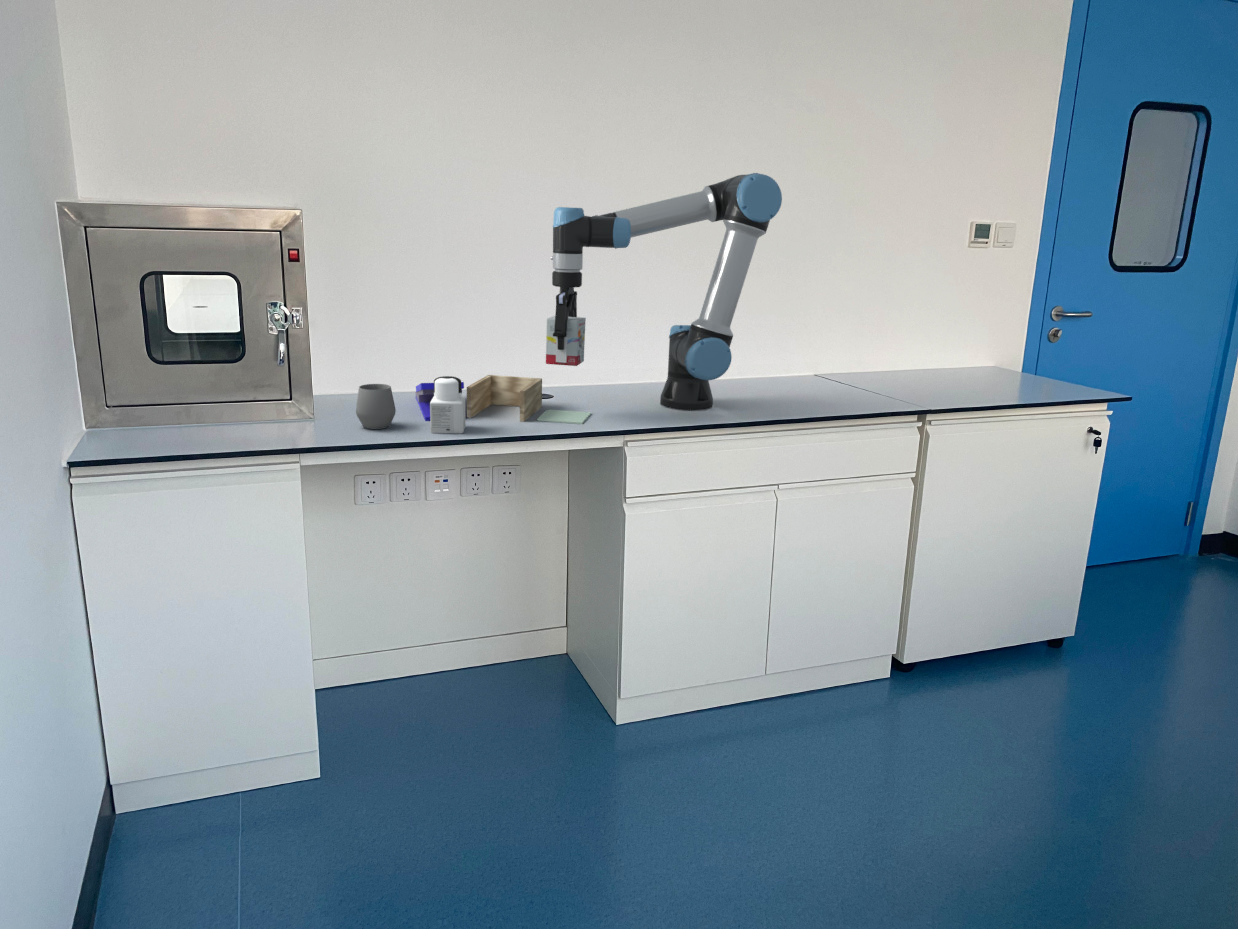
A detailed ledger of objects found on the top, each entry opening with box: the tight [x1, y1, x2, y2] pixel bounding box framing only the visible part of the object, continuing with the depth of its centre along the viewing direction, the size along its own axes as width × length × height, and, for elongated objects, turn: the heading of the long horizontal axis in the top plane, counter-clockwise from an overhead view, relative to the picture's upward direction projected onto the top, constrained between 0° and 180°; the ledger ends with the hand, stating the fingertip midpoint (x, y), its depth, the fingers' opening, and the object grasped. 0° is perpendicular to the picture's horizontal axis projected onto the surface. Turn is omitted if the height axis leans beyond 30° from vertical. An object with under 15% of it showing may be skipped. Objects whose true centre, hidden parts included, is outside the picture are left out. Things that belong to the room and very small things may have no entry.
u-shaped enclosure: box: [466, 374, 543, 422], centre depth 235 cm, size 15×18×8 cm
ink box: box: [545, 315, 586, 367], centre depth 227 cm, size 9×9×12 cm
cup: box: [355, 383, 397, 430], centre depth 214 cm, size 10×9×10 cm
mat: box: [536, 409, 592, 425], centre depth 232 cm, size 12×12×1 cm
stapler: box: [415, 381, 465, 422], centre depth 236 cm, size 12×28×10 cm, turn 18°
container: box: [429, 375, 467, 434], centre depth 214 cm, size 8×8×13 cm
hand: (565, 359), depth 228 cm, fingers closed on ink box, 9 cm apart
